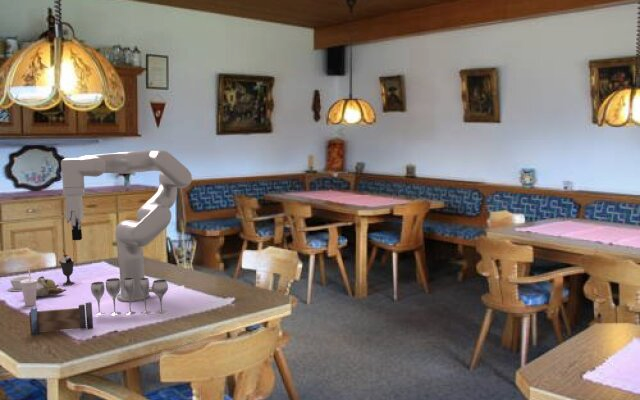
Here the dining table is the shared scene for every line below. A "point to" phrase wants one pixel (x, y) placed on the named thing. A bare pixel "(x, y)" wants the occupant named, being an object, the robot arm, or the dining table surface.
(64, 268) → the sundae
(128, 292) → the goblet set
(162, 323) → the dining table surface
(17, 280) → the teacup
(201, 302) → the dining table surface
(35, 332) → the grey upright cylinders
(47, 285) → the ceramic sculpture
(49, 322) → the gate
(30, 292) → the smoothie
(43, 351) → the dining table surface
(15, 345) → the dining table surface
